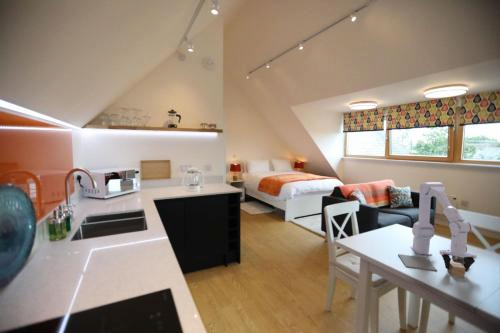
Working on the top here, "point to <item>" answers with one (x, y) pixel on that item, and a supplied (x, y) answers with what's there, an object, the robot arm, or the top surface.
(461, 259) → the supplement bottle
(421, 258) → the charcoal mat
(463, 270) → the wooden cube
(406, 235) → the top surface
